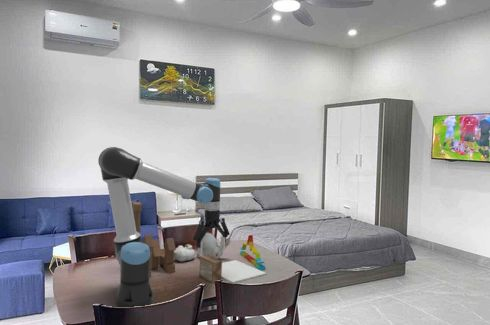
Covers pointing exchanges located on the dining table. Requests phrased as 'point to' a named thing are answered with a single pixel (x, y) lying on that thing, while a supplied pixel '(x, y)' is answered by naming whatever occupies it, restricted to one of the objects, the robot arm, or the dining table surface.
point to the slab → (210, 268)
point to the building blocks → (156, 245)
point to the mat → (239, 271)
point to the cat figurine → (184, 253)
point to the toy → (212, 246)
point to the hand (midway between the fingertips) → (211, 251)
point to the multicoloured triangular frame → (256, 261)
